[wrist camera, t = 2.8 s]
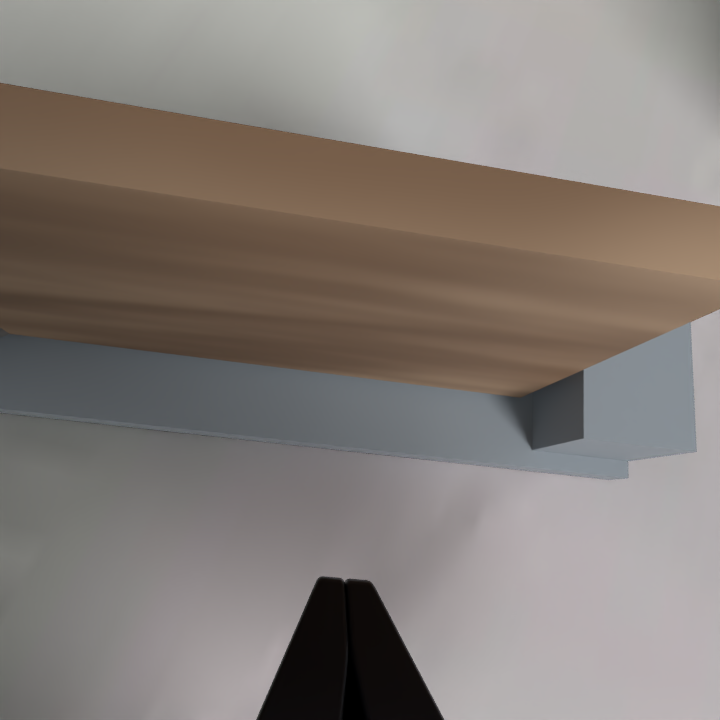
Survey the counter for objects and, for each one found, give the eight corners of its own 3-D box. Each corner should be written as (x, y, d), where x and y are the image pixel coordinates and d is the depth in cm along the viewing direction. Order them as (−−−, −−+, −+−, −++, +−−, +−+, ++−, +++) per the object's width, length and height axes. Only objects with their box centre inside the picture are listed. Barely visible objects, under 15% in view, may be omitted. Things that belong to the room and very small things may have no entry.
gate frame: (609, 479, 19) (697, 471, 15) (-184, 392, 16) (-323, 356, 12) (608, 327, 20) (688, 284, 16) (-129, 222, 17) (-239, 141, 14)
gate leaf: (520, 404, 17) (768, 300, 9) (-48, 334, 16) (-434, 116, 7) (521, 351, 18) (760, 201, 9) (-31, 276, 16) (-378, 3, 7)
